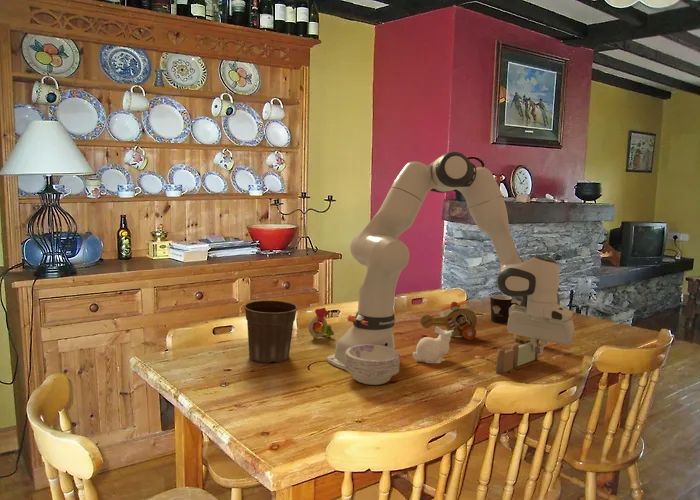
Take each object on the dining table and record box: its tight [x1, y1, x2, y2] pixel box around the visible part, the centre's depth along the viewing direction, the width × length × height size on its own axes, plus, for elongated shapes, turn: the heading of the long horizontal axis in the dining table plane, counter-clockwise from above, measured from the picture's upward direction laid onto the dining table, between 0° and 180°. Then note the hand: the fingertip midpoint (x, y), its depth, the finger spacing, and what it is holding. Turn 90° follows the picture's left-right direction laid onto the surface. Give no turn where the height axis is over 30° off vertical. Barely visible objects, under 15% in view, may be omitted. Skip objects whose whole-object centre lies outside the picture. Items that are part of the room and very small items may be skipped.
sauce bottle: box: [514, 296, 531, 345], centre depth 199 cm, size 7×6×20 cm
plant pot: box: [243, 299, 299, 364], centre depth 173 cm, size 16×16×16 cm
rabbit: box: [412, 326, 454, 364], centre depth 174 cm, size 12×9×12 cm
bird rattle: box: [307, 307, 335, 340], centre depth 196 cm, size 6×11×9 cm
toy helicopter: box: [419, 300, 478, 341], centre depth 203 cm, size 8×21×14 cm, turn 97°
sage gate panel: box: [517, 339, 540, 367], centre depth 176 cm, size 12×2×7 cm, turn 133°
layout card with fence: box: [474, 344, 520, 375], centre depth 177 cm, size 23×18×7 cm
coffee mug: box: [489, 294, 520, 324], centre depth 228 cm, size 12×9×10 cm
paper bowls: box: [344, 344, 401, 386], centre depth 158 cm, size 15×15×8 cm
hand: (537, 352), depth 176 cm, fingers closed
